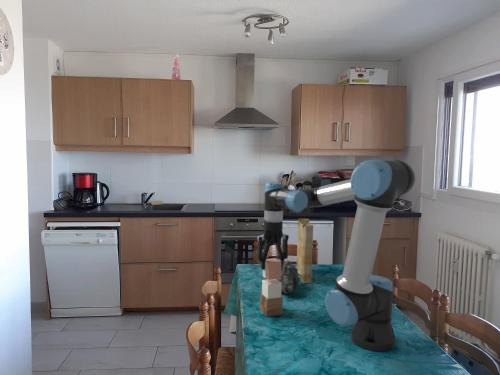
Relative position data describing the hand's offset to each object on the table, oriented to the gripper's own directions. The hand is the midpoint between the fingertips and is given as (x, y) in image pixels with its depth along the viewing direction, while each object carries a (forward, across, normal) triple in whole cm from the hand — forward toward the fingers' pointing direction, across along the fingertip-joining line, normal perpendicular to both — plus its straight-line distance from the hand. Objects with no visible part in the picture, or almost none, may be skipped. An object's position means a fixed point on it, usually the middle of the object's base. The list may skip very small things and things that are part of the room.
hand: (271, 276), depth 155 cm
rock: (+15, -16, -21) cm, 31 cm away
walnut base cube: (+15, 0, 0) cm, 15 cm away
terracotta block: (0, 0, 0) cm, 0 cm away
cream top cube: (+8, 0, 0) cm, 8 cm away
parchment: (+15, -36, -37) cm, 54 cm away
